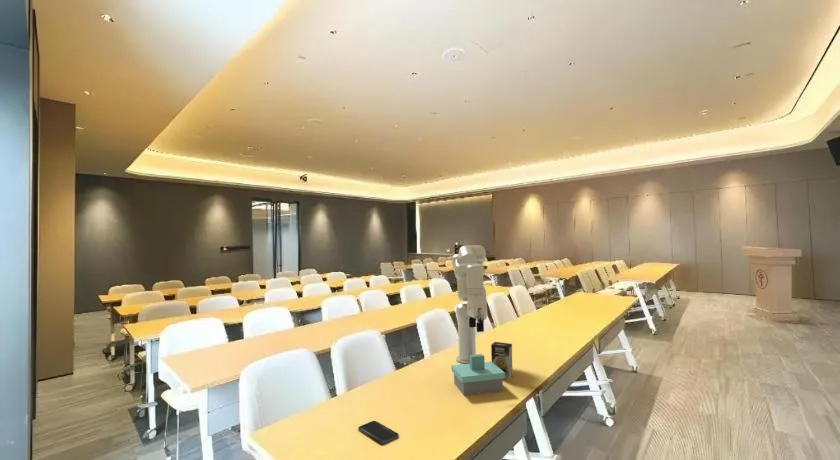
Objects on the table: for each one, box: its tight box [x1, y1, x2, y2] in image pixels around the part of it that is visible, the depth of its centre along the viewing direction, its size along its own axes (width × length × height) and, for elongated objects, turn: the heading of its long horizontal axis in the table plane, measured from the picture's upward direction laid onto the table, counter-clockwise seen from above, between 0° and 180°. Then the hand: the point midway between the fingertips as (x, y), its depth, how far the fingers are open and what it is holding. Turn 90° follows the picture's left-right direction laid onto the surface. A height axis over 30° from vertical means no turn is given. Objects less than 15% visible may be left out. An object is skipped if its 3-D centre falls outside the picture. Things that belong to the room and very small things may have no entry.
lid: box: [450, 353, 506, 383], centre depth 170 cm, size 16×20×8 cm
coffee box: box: [490, 341, 513, 379], centre depth 184 cm, size 9×6×16 cm
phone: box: [358, 420, 400, 446], centre depth 132 cm, size 8×1×15 cm
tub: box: [453, 373, 504, 396], centre depth 170 cm, size 14×18×8 cm
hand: (476, 329), depth 171 cm, fingers open, 9 cm apart
